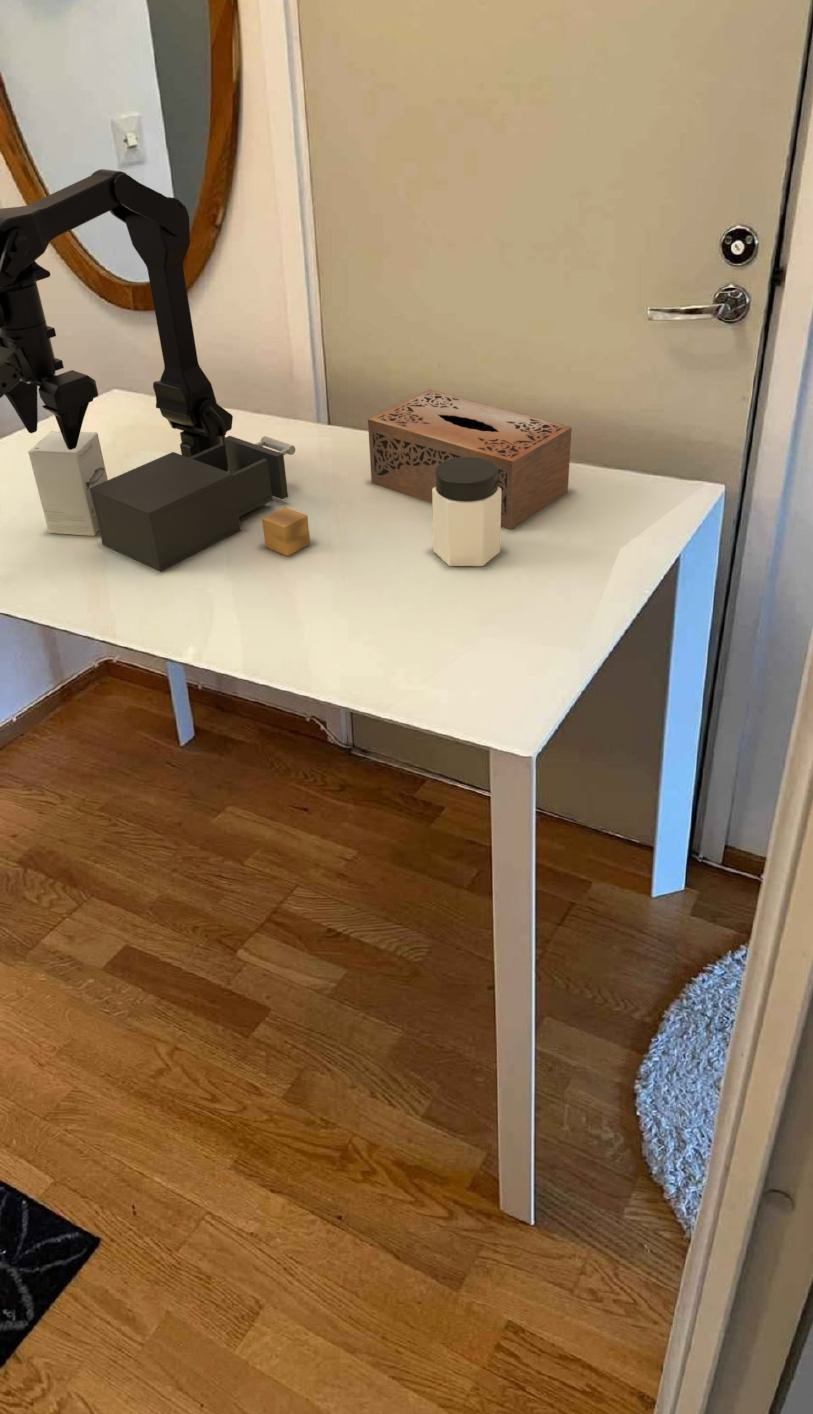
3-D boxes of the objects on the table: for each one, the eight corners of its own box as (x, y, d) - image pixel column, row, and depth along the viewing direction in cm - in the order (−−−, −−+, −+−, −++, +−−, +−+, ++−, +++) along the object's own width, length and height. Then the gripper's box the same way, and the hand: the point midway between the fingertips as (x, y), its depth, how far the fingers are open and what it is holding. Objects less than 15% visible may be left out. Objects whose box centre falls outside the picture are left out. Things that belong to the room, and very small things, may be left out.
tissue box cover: (567, 492, 157) (571, 427, 151) (510, 529, 148) (512, 462, 142) (431, 450, 171) (429, 389, 165) (371, 482, 162) (367, 419, 156)
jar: (510, 559, 142) (512, 475, 135) (456, 574, 139) (455, 489, 132) (477, 531, 148) (477, 450, 141) (424, 545, 146) (422, 463, 138)
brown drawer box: (182, 506, 158) (173, 451, 153) (241, 530, 151) (232, 473, 146) (102, 544, 149) (89, 488, 144) (160, 571, 142) (148, 513, 137)
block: (288, 535, 150) (284, 506, 147) (310, 544, 147) (307, 515, 145) (265, 547, 147) (261, 518, 144) (287, 556, 145) (284, 527, 142)
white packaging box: (95, 537, 151) (76, 452, 143) (47, 533, 152) (25, 450, 145) (117, 513, 157) (99, 431, 149) (70, 510, 158) (50, 429, 151)
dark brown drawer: (258, 466, 166) (253, 424, 162) (311, 485, 160) (307, 442, 156) (167, 510, 155) (158, 466, 151) (219, 532, 149) (212, 487, 145)
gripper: (-75, 326, 134) (-39, 443, 144) (6, 356, 124) (40, 480, 133) (3, 303, 141) (33, 417, 150) (86, 329, 130) (113, 449, 140)
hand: (52, 440), depth 143 cm, fingers open, 9 cm apart
